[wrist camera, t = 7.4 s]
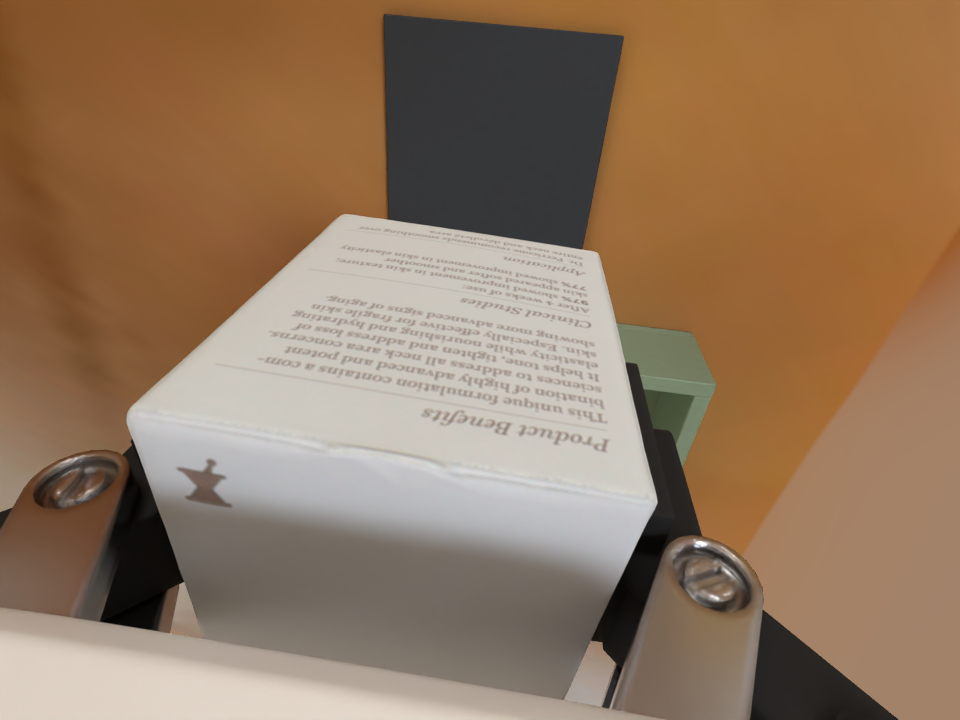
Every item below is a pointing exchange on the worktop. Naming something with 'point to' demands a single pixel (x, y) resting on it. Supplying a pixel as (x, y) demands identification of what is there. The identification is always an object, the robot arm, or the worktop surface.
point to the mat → (496, 126)
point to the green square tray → (670, 379)
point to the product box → (407, 457)
